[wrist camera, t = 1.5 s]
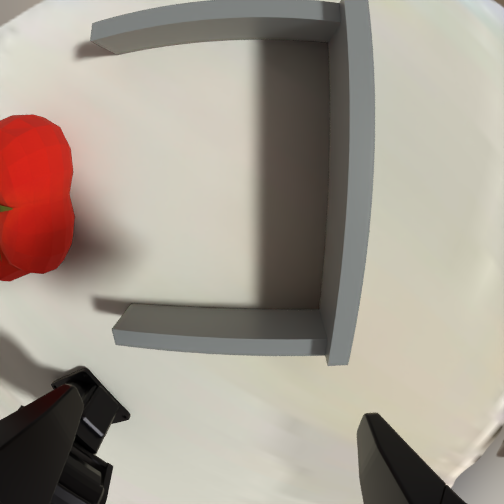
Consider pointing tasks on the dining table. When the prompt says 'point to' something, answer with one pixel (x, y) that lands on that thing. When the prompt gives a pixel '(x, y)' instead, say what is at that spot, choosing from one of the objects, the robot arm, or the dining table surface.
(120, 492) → the dining table surface
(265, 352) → the u-shaped frame
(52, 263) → the tomato
